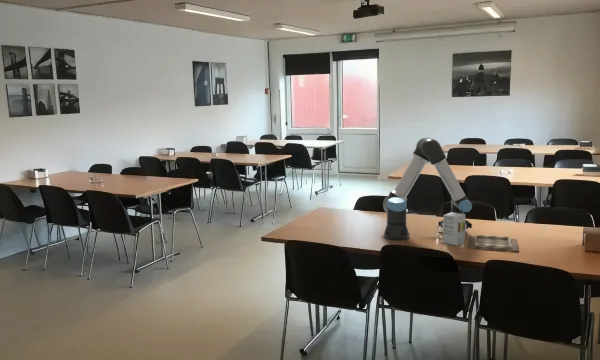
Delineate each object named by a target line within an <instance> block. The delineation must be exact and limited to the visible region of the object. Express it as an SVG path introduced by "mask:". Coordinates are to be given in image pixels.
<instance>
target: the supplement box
mask: <svg viewBox="0 0 600 360" xmlns="http://www.w3.org/2000/svg"><path fill="white" fill-rule="evenodd" d="M442 220H443V230H442V243H443V244H447V245H453V246H459V245H462V244H464V243H465V241H466V240H465V239H466V237H465V236H466V235H465V234H466V233H465V232H466V231H465V221H466V214H465V213H464V214H459V213H453V212H451V211H450V212H448V213H446V214H443V216H442Z"/></svg>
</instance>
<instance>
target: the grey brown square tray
mask: <svg viewBox="0 0 600 360" xmlns="http://www.w3.org/2000/svg"><path fill="white" fill-rule="evenodd" d="M468 248H472V249H471V250H479V249H485V250H484V251H493V250H499V251H498V252H506V251H513V252H512V253H519V247H518V242H517V238H511V237H510V236H503V235H502V236H501V235H489V234H488V235H487V234H486V235H485V234H474V235H469V236H468V243H467V249H468Z"/></svg>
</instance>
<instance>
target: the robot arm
mask: <svg viewBox="0 0 600 360" xmlns="http://www.w3.org/2000/svg"><path fill="white" fill-rule="evenodd" d="M415 145H416V147H415V149H414V151H413V153H412V156H413V158H412V159H411V161H410V163H409V165H408V166H407V168H406V170H405V171H404V173H403V175H402V176H401V178H400V180H399V182H398V183H397V184H396V187H395V188H394V189H393V190H390V192H389V194H388V195H387V196H386V197H385V198H384V200H383V202H382V207H383V208H382V209H383V210H384V212H385V213H386V226H385V229H384V232H383V238H385V239H388V240H390V241H391V240H393V241H402V240H403V241H405V240H408V239H409V238H410V232H409V229H408V226H407V206H408V204H407V201H408V197H407V196H408V195H409V193H410V191H411V190H412V188H413V186H414V185H415V183H416V181H417V180H418V178H419V176H420V174H421V173H422V171H423V169H424V167H425V166H426V165H427V164H429V163H430V164H431V165H432V166H434V168H435V170H436V171H437V172H438V173H437V174H438V175H439V177H440V178H441V180H442V182H443V183H444V185H445V187H446V189H447V191H448V193H449V195H450V197H451V200H450V201H451V202H450V203H451V204H450V207H451V208H450V213H451V212H453V213H459V214H465V213H469V212H470V211H471V210H472V207H473V205H472V202H471V201H470V200H469V199H468V197H467V195H466V194H465V192H464V190H463V188H462V187H461V184H460V183H459V181H458V179H457V177H456V176H455V174H454V172H453V170H452V168H451V167H450V164H449V163H448V161H447V155H446V154H445V152H444V149H443V148H442V146H441V143H440V142H439V141H438V140H436V139H434V138H431V137H422V138H420V139H419V140H418V141H417V143H416V144H415ZM438 227H440V228H442V231H443V219H441V220H440V221H438ZM472 228H473V224H472V223H471V222H470V221H468V219H465V232H467V229H472Z"/></svg>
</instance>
